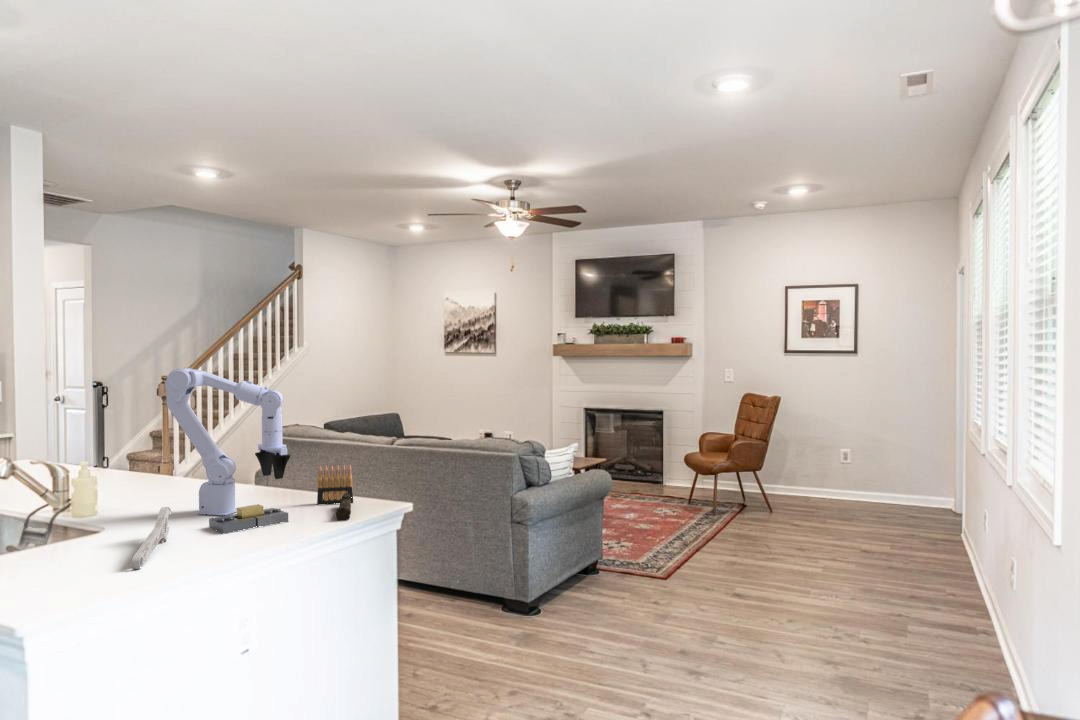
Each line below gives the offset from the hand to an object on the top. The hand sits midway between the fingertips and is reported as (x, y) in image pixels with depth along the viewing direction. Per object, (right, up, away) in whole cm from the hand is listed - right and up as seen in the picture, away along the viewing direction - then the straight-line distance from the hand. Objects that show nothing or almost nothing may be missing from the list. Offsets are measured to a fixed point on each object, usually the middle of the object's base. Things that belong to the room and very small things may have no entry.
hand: (272, 477), depth 222 cm
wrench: (-13, -12, -43) cm, 47 cm away
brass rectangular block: (0, -11, -17) cm, 20 cm away
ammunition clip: (+16, -10, +10) cm, 21 cm away
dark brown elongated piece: (+22, -10, -4) cm, 24 cm away
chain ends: (0, -10, -17) cm, 20 cm away
